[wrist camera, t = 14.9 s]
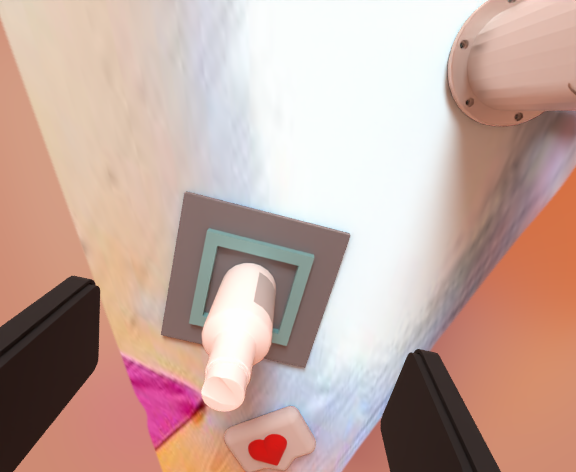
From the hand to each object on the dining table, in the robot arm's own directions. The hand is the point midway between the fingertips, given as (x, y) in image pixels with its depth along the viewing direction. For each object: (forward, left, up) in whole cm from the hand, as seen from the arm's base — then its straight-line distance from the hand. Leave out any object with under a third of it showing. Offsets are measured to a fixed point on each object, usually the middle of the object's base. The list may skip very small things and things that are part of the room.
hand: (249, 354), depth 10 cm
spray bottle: (+1, +15, -31) cm, 34 cm away
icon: (-9, +39, -32) cm, 52 cm away
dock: (0, +15, -32) cm, 35 cm away
